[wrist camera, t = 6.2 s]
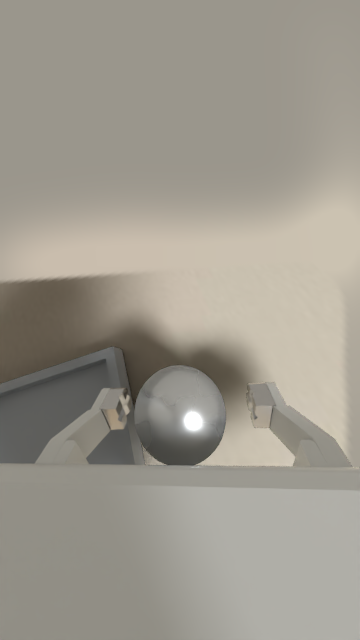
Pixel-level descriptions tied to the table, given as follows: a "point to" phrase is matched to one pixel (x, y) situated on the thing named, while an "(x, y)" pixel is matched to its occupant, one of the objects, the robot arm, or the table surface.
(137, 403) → the glossy grey cylinder
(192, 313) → the table surface
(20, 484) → the robot arm
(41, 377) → the parts tray
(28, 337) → the table surface
